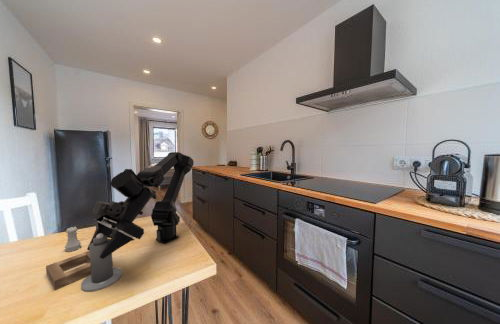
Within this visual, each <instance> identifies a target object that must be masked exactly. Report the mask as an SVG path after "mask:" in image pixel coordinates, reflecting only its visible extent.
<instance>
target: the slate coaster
mask: <svg viewBox="0 0 500 324" xmlns="http://www.w3.org/2000/svg"><path fill="white" fill-rule="evenodd" d="M122 274H123V271H122V269H121V268H120V267H115V266H113V276H112V277H111V278H109V279H108V280H106V281H104V282H101V283H92V280H91V275H88V276H86V277H84V279H83V280H82V282H81V283H80V289H81V291H84V292H88V293H89V292H95V291H101V290H103V289H105V288H108V287H110V286H111V285H113V284H115V283H116V282H117V281H118V280H119V279H120V278H121V277H122Z"/></svg>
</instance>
